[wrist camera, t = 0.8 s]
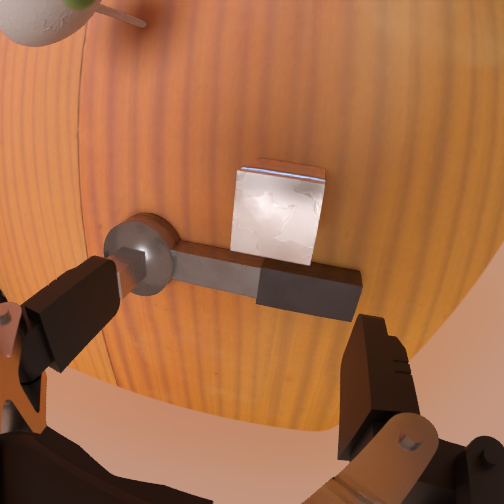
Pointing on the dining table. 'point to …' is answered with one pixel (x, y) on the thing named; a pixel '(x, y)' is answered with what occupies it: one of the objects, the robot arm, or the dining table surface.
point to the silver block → (277, 210)
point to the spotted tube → (2, 297)
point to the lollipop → (51, 19)
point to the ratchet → (226, 271)
